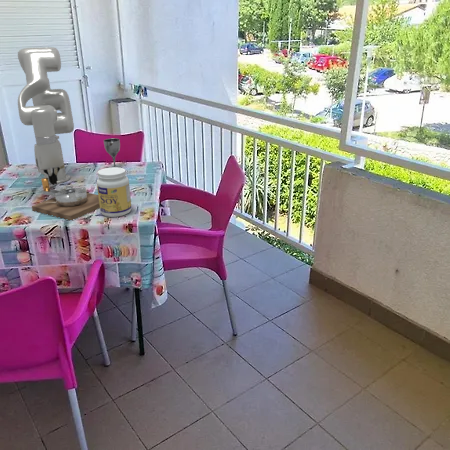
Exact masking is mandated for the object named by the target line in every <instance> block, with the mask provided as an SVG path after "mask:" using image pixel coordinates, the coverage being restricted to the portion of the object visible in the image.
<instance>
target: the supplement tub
mask: <svg viewBox="0 0 450 450" xmlns="http://www.w3.org/2000/svg"><path fill="white" fill-rule="evenodd" d="M96 188H97V195H98V197H99V205H100V208H99V210H100V213H101V214H102V216H104V217H110V218H117V217H122V216H125V215H128V214H129V213H130V212H131V211H132V208H133V207H132V199H131V190H130V180H129V177H128V176H127V173H126V169H125V168H123V167H122V168H118V167H113V166H111V168H110V167H105V168H101V169H100V170H97V180H96Z"/></svg>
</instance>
